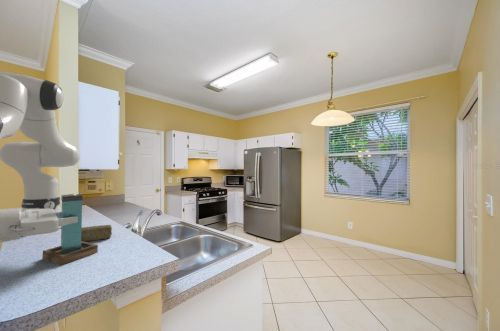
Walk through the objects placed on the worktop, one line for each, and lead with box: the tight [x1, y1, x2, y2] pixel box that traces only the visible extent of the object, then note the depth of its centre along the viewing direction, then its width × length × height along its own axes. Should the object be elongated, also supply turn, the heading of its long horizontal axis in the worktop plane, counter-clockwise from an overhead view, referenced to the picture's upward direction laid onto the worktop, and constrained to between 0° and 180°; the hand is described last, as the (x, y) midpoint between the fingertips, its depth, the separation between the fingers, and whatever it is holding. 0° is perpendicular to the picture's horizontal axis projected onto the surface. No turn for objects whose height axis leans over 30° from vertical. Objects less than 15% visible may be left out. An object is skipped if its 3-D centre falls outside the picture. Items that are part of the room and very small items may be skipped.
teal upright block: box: [60, 193, 84, 254], centre depth 68 cm, size 5×5×18 cm
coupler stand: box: [42, 241, 99, 266], centre depth 68 cm, size 10×10×2 cm
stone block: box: [81, 224, 113, 242], centre depth 83 cm, size 6×12×5 cm, turn 121°
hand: (75, 216), depth 69 cm, fingers open, 8 cm apart
